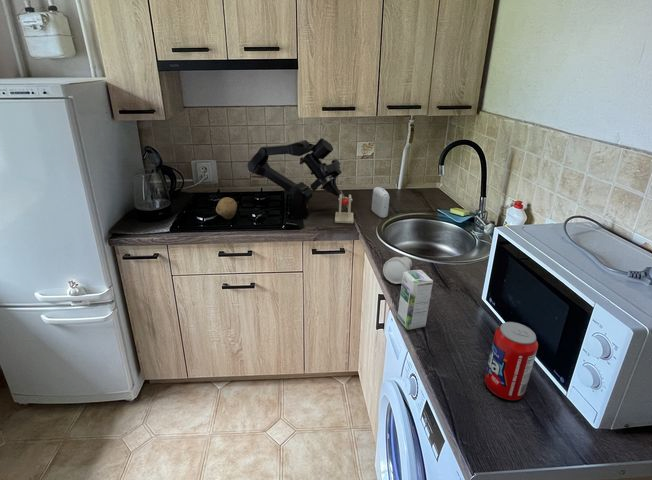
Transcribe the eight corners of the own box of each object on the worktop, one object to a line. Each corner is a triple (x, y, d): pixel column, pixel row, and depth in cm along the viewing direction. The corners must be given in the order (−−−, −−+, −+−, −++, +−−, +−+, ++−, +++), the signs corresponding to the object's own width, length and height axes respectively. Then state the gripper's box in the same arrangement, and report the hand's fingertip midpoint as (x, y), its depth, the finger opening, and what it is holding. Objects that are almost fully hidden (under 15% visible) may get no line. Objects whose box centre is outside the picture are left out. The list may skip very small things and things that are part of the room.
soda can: (525, 408, 77) (543, 349, 72) (483, 396, 80) (497, 338, 75) (521, 380, 84) (537, 325, 79) (483, 370, 87) (495, 315, 82)
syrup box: (396, 317, 104) (401, 271, 99) (415, 314, 106) (421, 268, 101) (406, 330, 99) (413, 283, 94) (426, 326, 101) (434, 279, 96)
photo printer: (388, 217, 171) (391, 191, 167) (380, 218, 170) (382, 192, 165) (378, 209, 180) (380, 184, 176) (370, 210, 179) (372, 185, 175)
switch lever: (348, 205, 155) (349, 198, 155) (341, 205, 156) (341, 198, 155) (348, 203, 167) (348, 196, 167) (341, 202, 167) (341, 196, 167)
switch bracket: (353, 223, 164) (354, 200, 160) (334, 222, 165) (335, 199, 161) (353, 215, 173) (354, 192, 169) (335, 214, 174) (336, 191, 170)
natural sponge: (215, 223, 163) (213, 201, 159) (219, 215, 171) (217, 194, 167) (236, 223, 163) (235, 201, 159) (239, 215, 171) (238, 194, 168)
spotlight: (378, 276, 121) (387, 254, 119) (390, 268, 131) (398, 247, 129) (402, 289, 118) (411, 266, 115) (412, 279, 127) (421, 258, 125)
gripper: (317, 158, 146) (342, 190, 145) (338, 149, 162) (361, 178, 161) (300, 175, 153) (323, 206, 152) (321, 165, 168) (343, 193, 167)
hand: (338, 195), depth 158 cm, fingers closed
